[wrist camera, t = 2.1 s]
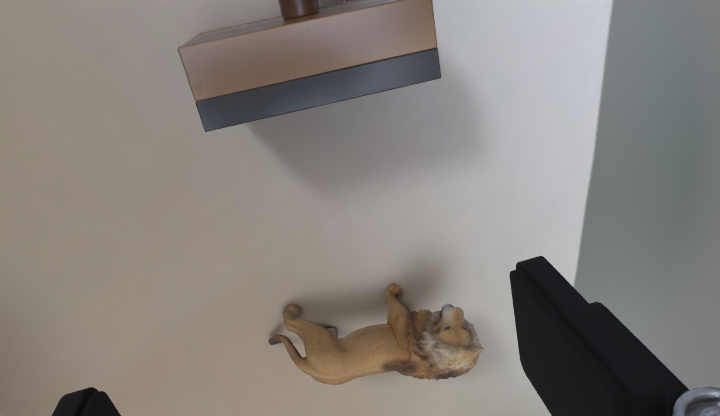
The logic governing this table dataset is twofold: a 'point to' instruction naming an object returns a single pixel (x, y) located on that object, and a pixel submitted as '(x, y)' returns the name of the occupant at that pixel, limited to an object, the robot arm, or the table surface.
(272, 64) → the scrubbing brush
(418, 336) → the lion figurine
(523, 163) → the table surface
